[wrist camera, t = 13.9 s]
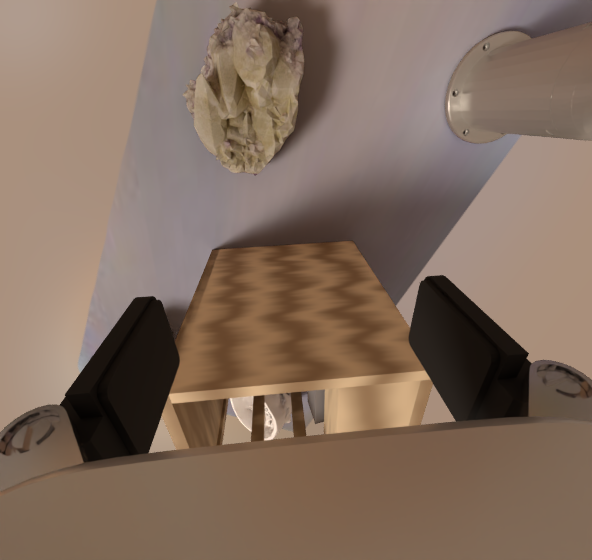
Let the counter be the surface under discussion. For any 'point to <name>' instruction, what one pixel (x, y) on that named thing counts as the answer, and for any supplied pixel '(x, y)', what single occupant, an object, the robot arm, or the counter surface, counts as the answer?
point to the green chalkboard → (317, 404)
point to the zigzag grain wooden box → (293, 344)
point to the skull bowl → (275, 412)
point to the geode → (248, 89)
